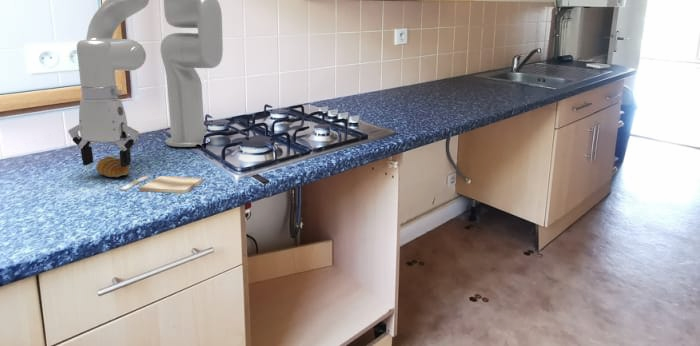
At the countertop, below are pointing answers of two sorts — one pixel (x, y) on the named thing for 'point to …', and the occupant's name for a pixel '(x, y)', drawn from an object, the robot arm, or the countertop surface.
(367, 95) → the countertop surface
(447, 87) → the countertop surface
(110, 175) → the pastry
